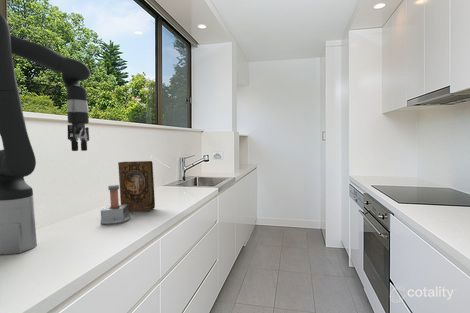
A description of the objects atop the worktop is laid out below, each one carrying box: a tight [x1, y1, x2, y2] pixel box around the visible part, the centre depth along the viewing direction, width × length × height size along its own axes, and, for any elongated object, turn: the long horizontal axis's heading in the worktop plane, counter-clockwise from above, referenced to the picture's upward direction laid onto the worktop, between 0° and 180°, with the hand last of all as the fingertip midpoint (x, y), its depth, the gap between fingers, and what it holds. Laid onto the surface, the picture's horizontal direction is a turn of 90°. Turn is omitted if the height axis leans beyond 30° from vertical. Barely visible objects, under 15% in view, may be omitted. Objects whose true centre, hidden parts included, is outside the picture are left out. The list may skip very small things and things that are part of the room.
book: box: [117, 160, 156, 213], centre depth 131 cm, size 16×6×25 cm, turn 84°
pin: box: [108, 184, 120, 209], centre depth 115 cm, size 4×4×14 cm
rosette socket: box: [100, 204, 131, 226], centre depth 115 cm, size 12×12×6 cm
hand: (79, 150), depth 108 cm, fingers open, 8 cm apart
